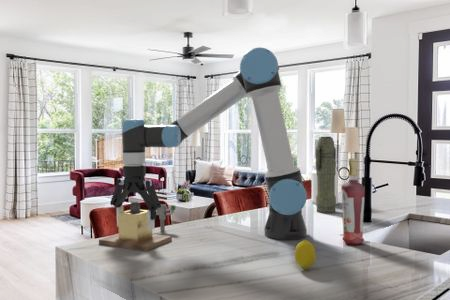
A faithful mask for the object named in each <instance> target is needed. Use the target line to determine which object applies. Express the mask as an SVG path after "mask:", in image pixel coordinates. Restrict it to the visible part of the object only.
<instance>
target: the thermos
mask: <svg viewBox="0 0 450 300" xmlns="http://www.w3.org/2000/svg"><path fill="white" fill-rule="evenodd" d="M315 158H316V174H317V197H316V204H315V207H316V212H317V213H319V214H335V213H336V207H337V204H336V197H335V174H336V170H337V167H336V162H337V159H336V158H337V149H336V147H335V141H334V139H333V137H331V136H320V137H319V138H318V141H317V147H316V148H315Z"/></svg>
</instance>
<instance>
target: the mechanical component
mask: <svg viewBox="0 0 450 300" xmlns="http://www.w3.org/2000/svg"><path fill="white" fill-rule="evenodd" d="M160 204H161V207H160V208H158V209H156V216H158V217H159V218H158V219H159V220H160V221H159V223H160V224H159V225H160V226H159V227H160V230H159V231H160V232H164V231H165V230H166V229H165V223H166V222H165V220H166V219H167V218H166V216H171V215H173V214H175V211H176V209H177V207H176V205H174V204H171V205H170V207H169V208H168V206H167V203H165V204H164V203H160Z"/></svg>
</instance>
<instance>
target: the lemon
mask: <svg viewBox="0 0 450 300" xmlns="http://www.w3.org/2000/svg"><path fill="white" fill-rule="evenodd" d="M316 258H317V254H316V248H315V246H314V245H313V244H312V243H311V242H310V241H308V240H307V239H303V240H302V241H300V242H298V243H297V245H296V247H295V250H294V260H295V262H296V264H297V265H298V266H299V267H301V268H303V269H304V270H307V269H308V268H310V267H312V266H313V265H314V264H315V261H316Z"/></svg>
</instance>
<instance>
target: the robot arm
mask: <svg viewBox="0 0 450 300" xmlns="http://www.w3.org/2000/svg"><path fill="white" fill-rule="evenodd" d="M278 66H279V63H278V59H277V57H276V55H275V54H274V53H273V51H272V50H269V49H268V48H265V47H261V46H260V47H259V46H258V47H253V48H252V49H249V50H247V51H246V52H245V53H244V55H243V56H242V58H241V60H240V63H239V71H238V72H237V73H236V74H234V75H233V77H232V80H231V81H229V82H228V83H226V84H225V85H223V86H221V87H220V88H219V89H218V90H216V91H215V92H213V93H212V94H211V95H210V96H208V97H206V98H205V99H204V100H202V101H200V103H198V104H197V105H195V106H193V108H192V107H191V109H189V110H188V111H187V112H186V113H185V112H184V114H182V115H181V116H179V117H178V118H176V120H174V121H173V122H171V123H169V124H157V125H156V124H154V125H150V124H148V125H147V124H145V123H146V122H145V120H144V119H139V118H137V119H131V118H130V119H125V120H123V121H122V125H121V127H122V128H121V129H122V130H121V137H122V138H121V141H122V164H123V167H122V176H123V177H124V178H123V177H121V178H117V179H116V184H115V188H114V191H113V194H112V197H111V200H110V204H109V205H111V206H114V210H115V211H114V215H115V217H116V227H117V228H119V224H118V213H120V212H124V211H125V210H124V209H125V208H124V206H123V204H124V202H125V201H126V199H127V198H128V196H129V195H130V193H135V194H138V195H140V197H141V198H142V200H143V202H144V203H145V205H146V206H147V208H148V209H147V210H148V211H147V214H148V230H152V231H153V230H155V223H156V222H155V220H156V219H157V215H156V210H157V209H158V208H160V207H161V204H162V203H161V201H160V199H159V197H158V195H157V192H156V189H155V187H154V181H153V179H147V180H146V179H145V177H146V175H147V174H146V166H145V164H146V148H168V149H169V148H178V147H179V146H180V144H181V143H182V142H183V141H185V140H186V139H187V138H189V136H191V135H192V134H194V133H196V132H197V131H198V130H200V129H201V128H202V127H204V126H205V125H207V124H208V123H210V122H212V121H213V120H214V119H215V118H217V117H218V116H220V115H221V114H223V113H225V112H226V111H227V110H228V109H229V108H231V107H233V106H234V105H236V104H237V103H239V102H240V101H241V100H243V99H244V98H251V99H252V102H253V103H252V104H253V108H254V114H255V118H256V121H257V126H258V131H259V135H260V139H261V145H262V149H263V154H264V157H265V162H266V166H267V171H266V174H264V178H265V184H266V188H267V192H268V208H269V209H268V216H267V219H266V222H265V226H264V236H265V237H268V238H270V239H275V240H276V239H277V240H286V241H287V240H298V239H299V240H300V239H304V238H305V237H307V235H308V229H307V226H306V222H305V220H304V217H303V213H302V210H303V208H304V207H305V205H306V203H307V197H308V195H307V194H308V193H307V191H306V188H305V186H304V182H303V178H302V177H303V176H302V173H301V169H300V167H297V165H295V164H294V158H293V154H292V150H291V149H292V148H291V145H290V140H289V136H288V132H287V127H286V122H285V118H284V114H283V109H282V105H281V100H280V95H279V92H280V90H281V89H282V82H281V77H280V73H279V69H278V68H279V67H278Z"/></svg>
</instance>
